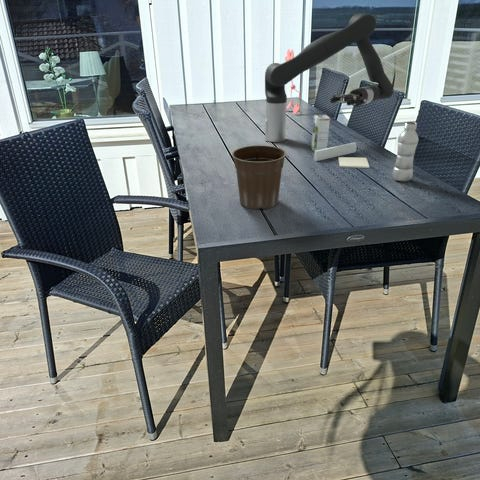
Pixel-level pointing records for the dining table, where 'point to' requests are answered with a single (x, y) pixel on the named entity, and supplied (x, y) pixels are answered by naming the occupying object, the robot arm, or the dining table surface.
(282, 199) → the dining table surface
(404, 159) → the plastic bottle
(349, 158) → the resting pad
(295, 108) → the figurine
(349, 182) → the dining table surface
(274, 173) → the plant pot
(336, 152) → the low wall
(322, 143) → the syrup box
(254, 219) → the dining table surface
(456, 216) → the dining table surface
